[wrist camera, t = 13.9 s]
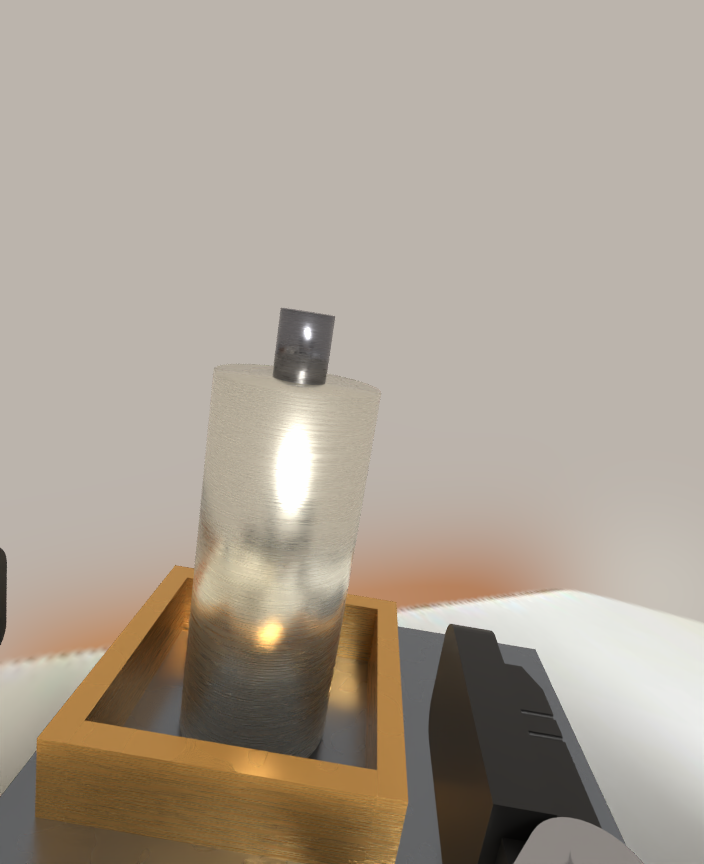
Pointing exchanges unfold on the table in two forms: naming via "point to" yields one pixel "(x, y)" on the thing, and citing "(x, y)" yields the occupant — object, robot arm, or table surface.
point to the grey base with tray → (245, 758)
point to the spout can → (275, 543)
